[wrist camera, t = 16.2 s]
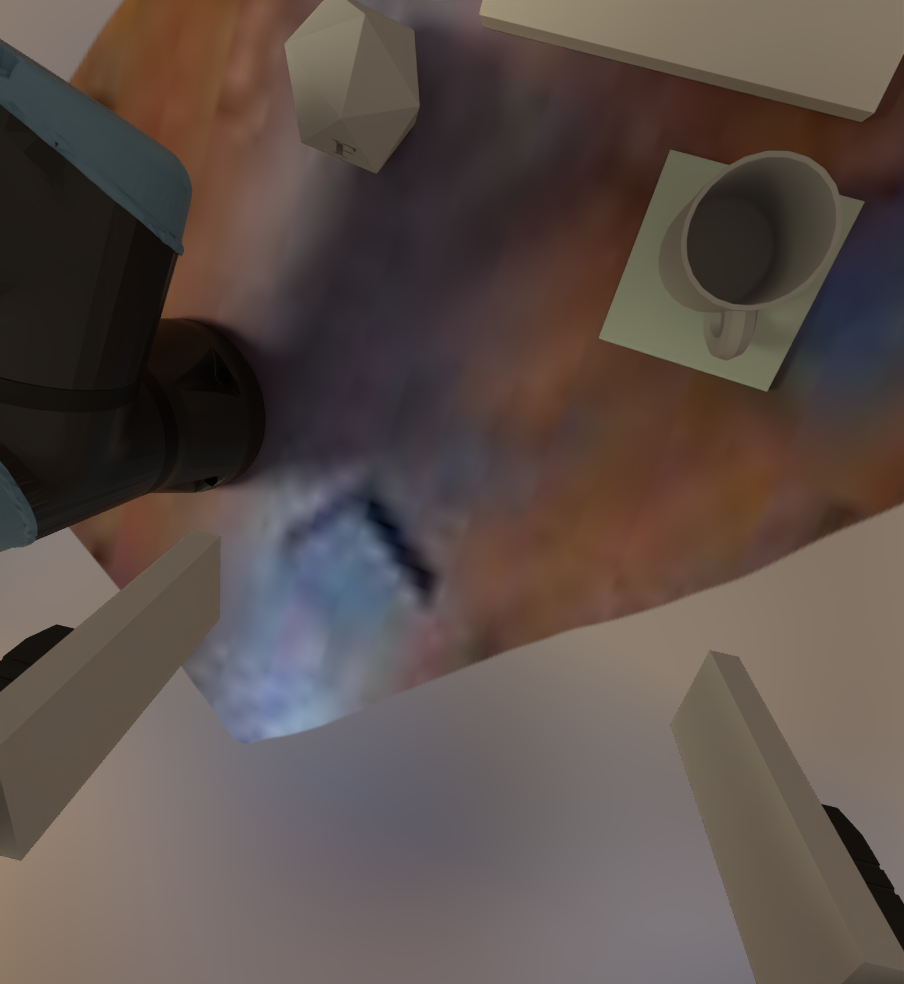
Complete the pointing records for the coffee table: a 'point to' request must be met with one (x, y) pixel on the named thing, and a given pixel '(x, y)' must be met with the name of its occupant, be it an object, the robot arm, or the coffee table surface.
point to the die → (353, 82)
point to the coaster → (679, 330)
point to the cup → (750, 243)
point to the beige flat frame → (732, 43)
